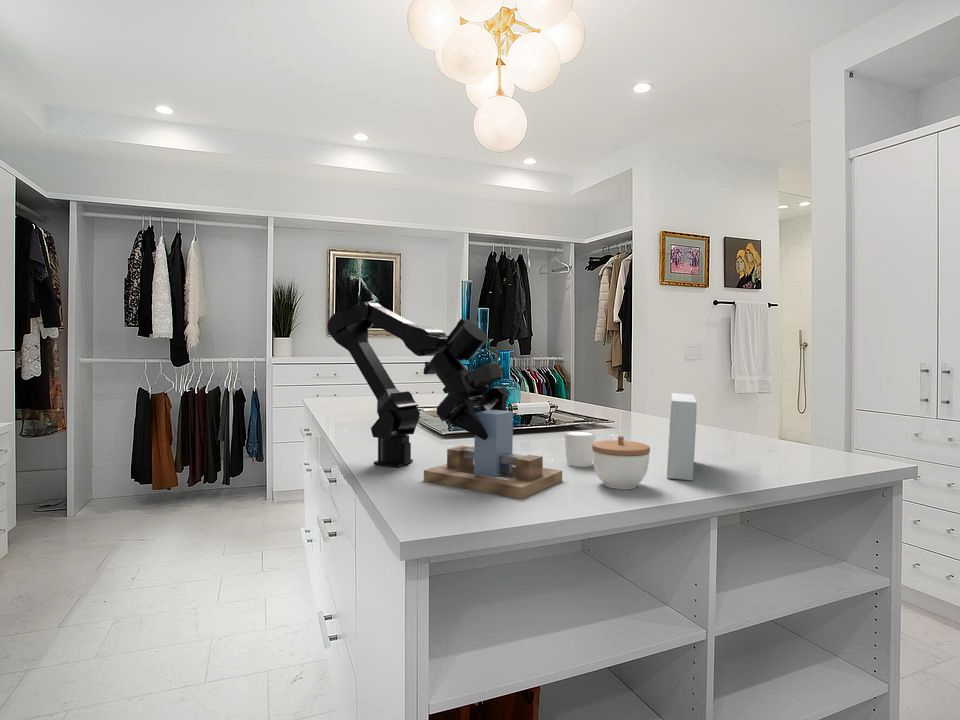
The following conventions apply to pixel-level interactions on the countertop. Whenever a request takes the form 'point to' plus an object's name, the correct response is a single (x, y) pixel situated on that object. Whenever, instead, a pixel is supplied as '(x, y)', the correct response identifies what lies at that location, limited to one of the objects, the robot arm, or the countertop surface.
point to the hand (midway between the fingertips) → (499, 435)
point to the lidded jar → (620, 462)
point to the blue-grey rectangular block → (493, 443)
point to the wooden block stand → (523, 483)
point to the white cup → (579, 448)
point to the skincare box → (681, 437)
